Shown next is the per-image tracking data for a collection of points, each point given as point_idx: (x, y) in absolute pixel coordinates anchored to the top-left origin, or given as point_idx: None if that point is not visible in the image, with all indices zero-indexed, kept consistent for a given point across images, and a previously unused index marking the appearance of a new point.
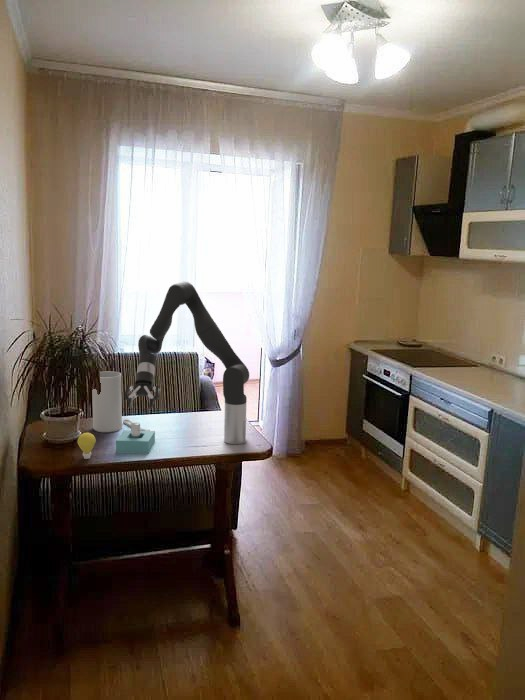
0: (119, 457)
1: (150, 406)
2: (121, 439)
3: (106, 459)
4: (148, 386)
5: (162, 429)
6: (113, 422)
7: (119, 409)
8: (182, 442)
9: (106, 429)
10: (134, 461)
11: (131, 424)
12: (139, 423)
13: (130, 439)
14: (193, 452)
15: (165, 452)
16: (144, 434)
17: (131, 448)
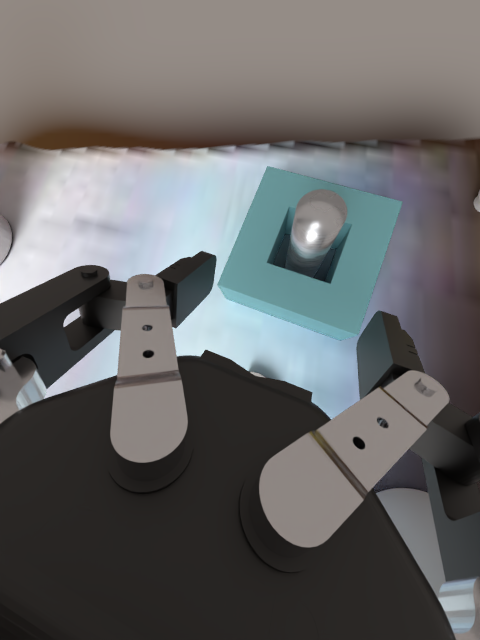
0: (367, 185)
1: (204, 253)
2: (376, 209)
3: (413, 176)
4: (62, 467)
5: None
6: (407, 515)
7: None
8: (135, 273)
9: (426, 495)
10: (321, 144)
11: (345, 206)
12: (298, 214)
13: None
14: (132, 179)
15: (212, 196)
16: (269, 249)
17: None
